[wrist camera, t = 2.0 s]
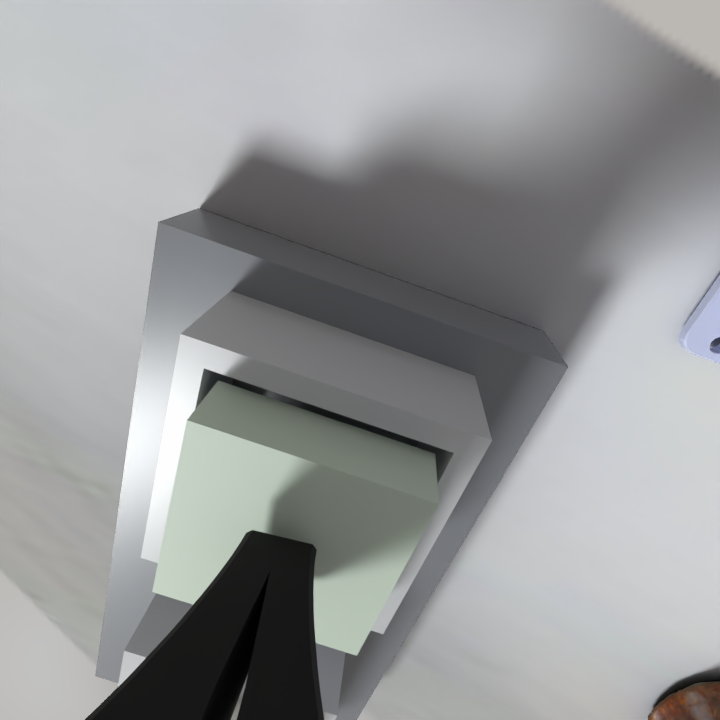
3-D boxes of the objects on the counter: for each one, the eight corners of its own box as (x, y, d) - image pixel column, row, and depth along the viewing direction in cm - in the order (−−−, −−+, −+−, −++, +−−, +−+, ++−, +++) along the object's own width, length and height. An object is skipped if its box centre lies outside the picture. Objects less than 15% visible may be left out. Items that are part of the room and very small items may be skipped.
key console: (544, 331, 15) (612, 431, 10) (346, 690, 23) (328, 840, 18) (199, 208, 14) (83, 247, 9) (126, 622, 23) (46, 758, 18)
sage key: (435, 453, 11) (439, 503, 9) (363, 596, 13) (357, 655, 11) (218, 380, 10) (186, 419, 9) (181, 539, 12) (152, 591, 11)
